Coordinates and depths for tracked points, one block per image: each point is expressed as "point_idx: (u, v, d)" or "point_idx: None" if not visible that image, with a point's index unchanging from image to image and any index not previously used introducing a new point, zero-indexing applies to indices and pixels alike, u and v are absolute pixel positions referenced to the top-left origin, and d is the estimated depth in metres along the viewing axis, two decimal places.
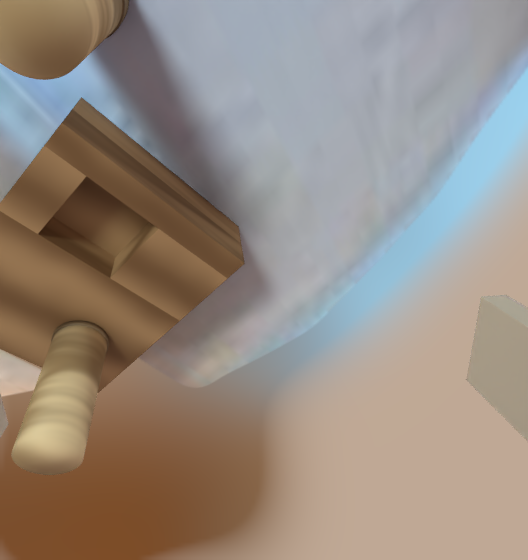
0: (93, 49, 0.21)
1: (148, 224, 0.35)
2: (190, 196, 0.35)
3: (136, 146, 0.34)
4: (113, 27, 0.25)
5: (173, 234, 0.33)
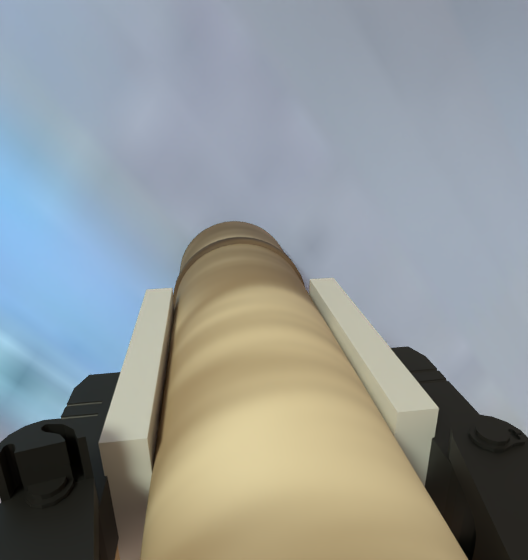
0: None
1: None
2: None
3: None
4: None
5: None
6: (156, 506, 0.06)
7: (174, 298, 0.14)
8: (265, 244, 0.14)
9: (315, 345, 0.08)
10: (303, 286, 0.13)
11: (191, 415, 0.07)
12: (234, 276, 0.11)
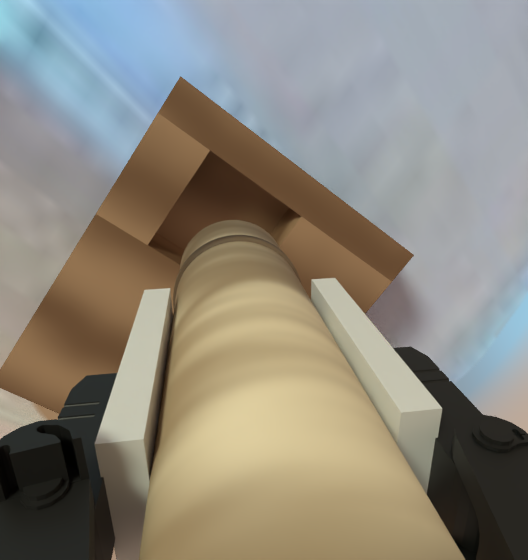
0: None
1: (278, 226, 0.27)
2: None
3: None
4: None
5: (321, 222, 0.24)
6: (158, 482, 0.06)
7: (174, 294, 0.15)
8: (263, 242, 0.15)
9: (309, 336, 0.09)
10: (299, 282, 0.13)
11: (191, 399, 0.07)
12: (232, 271, 0.12)
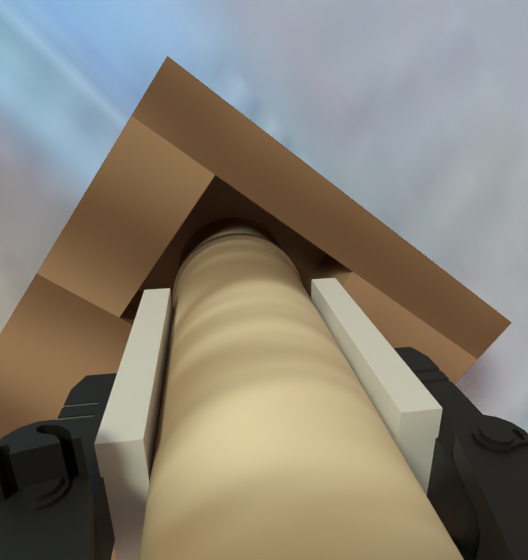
0: None
1: (311, 278, 0.19)
2: None
3: None
4: None
5: (381, 280, 0.16)
6: (158, 484, 0.06)
7: (174, 292, 0.15)
8: (263, 240, 0.15)
9: (309, 336, 0.09)
10: (299, 281, 0.13)
11: (191, 402, 0.07)
12: (232, 271, 0.12)
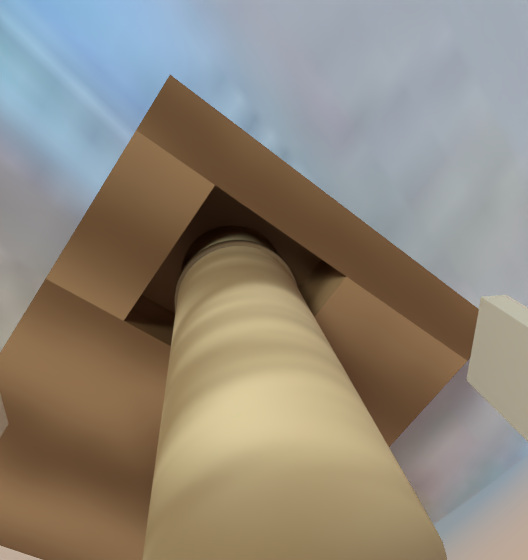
0: None
1: (307, 283, 0.19)
2: None
3: None
4: None
5: (373, 284, 0.17)
6: (163, 464, 0.07)
7: (176, 296, 0.16)
8: (260, 246, 0.16)
9: (302, 334, 0.09)
10: (295, 285, 0.14)
11: (193, 391, 0.08)
12: (231, 275, 0.13)
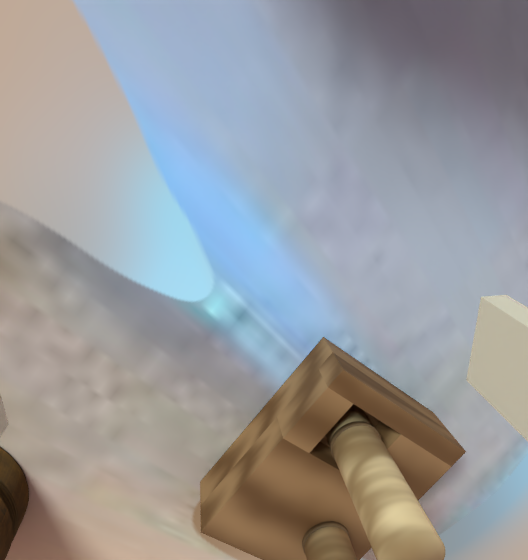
0: None
1: (379, 427, 0.42)
2: (404, 397, 0.43)
3: (362, 366, 0.42)
4: None
5: (412, 437, 0.39)
6: (377, 526, 0.29)
7: (332, 444, 0.38)
8: (368, 425, 0.38)
9: (402, 484, 0.32)
10: (385, 447, 0.36)
11: (379, 505, 0.30)
12: (367, 449, 0.35)
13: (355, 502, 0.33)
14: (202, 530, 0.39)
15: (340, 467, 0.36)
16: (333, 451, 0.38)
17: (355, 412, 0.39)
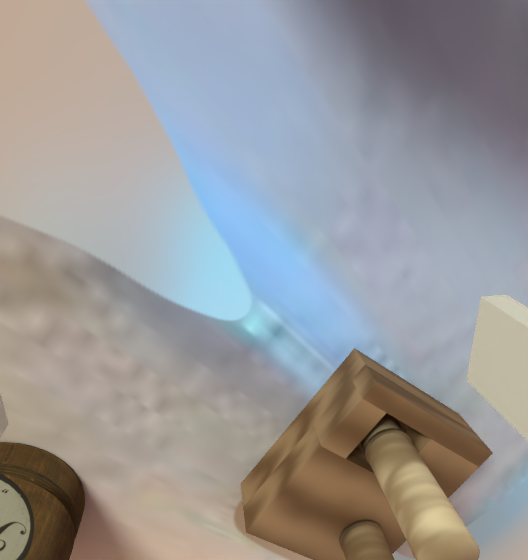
0: None
1: (409, 431, 0.44)
2: (432, 402, 0.45)
3: (392, 374, 0.45)
4: None
5: (441, 441, 0.42)
6: (416, 530, 0.32)
7: (367, 450, 0.40)
8: (400, 431, 0.40)
9: (436, 489, 0.34)
10: None
11: (416, 510, 0.33)
12: (402, 456, 0.37)
13: (392, 506, 0.35)
14: (247, 530, 0.42)
15: (376, 472, 0.39)
16: (368, 456, 0.40)
17: (387, 419, 0.42)
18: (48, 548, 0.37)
